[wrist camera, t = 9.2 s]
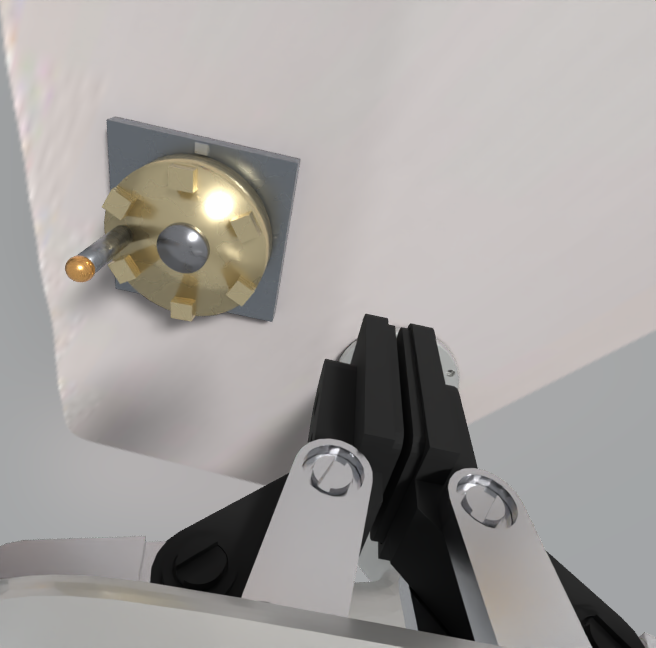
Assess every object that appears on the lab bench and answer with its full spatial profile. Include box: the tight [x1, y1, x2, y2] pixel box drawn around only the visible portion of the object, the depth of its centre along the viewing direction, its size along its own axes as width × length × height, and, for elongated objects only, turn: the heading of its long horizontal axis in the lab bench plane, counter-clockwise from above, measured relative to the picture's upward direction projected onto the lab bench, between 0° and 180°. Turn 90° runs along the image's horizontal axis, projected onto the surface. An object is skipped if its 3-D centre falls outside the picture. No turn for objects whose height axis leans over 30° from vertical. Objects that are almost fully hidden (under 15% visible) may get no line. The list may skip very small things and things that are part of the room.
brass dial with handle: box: [65, 154, 273, 322], centre depth 35 cm, size 13×13×10 cm
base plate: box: [107, 117, 300, 322], centre depth 40 cm, size 15×15×2 cm
